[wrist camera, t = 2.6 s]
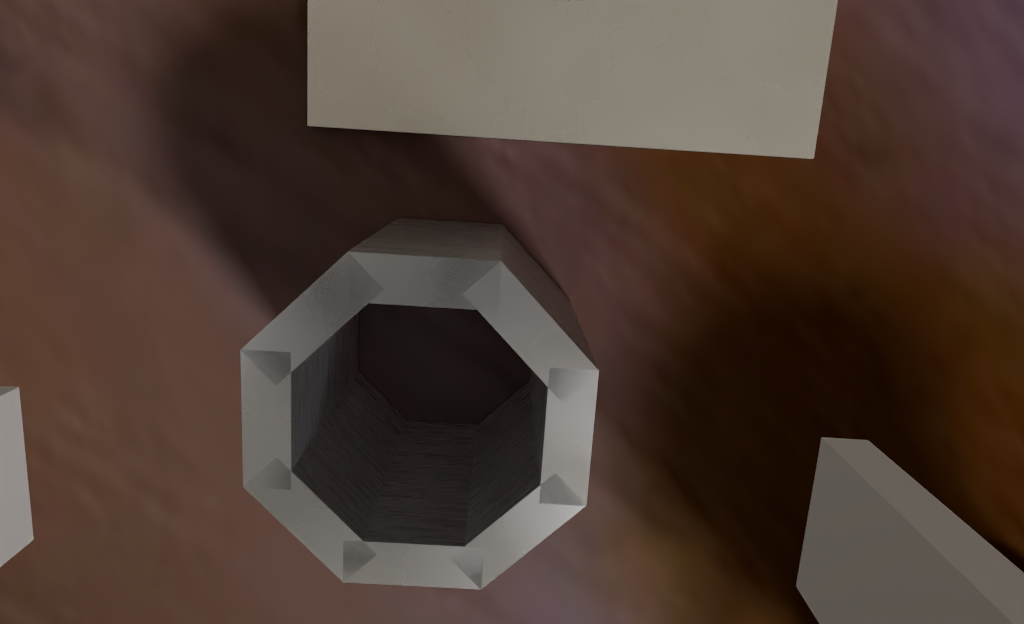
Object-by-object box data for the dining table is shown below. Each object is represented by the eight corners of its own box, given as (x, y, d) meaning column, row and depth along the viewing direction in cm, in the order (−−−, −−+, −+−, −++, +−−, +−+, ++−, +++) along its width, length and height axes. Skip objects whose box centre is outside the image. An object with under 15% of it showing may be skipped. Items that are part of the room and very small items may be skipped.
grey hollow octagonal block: (324, 446, 22) (244, 577, 16) (325, 212, 21) (238, 244, 14) (556, 459, 23) (578, 594, 16) (575, 228, 21) (609, 267, 14)
